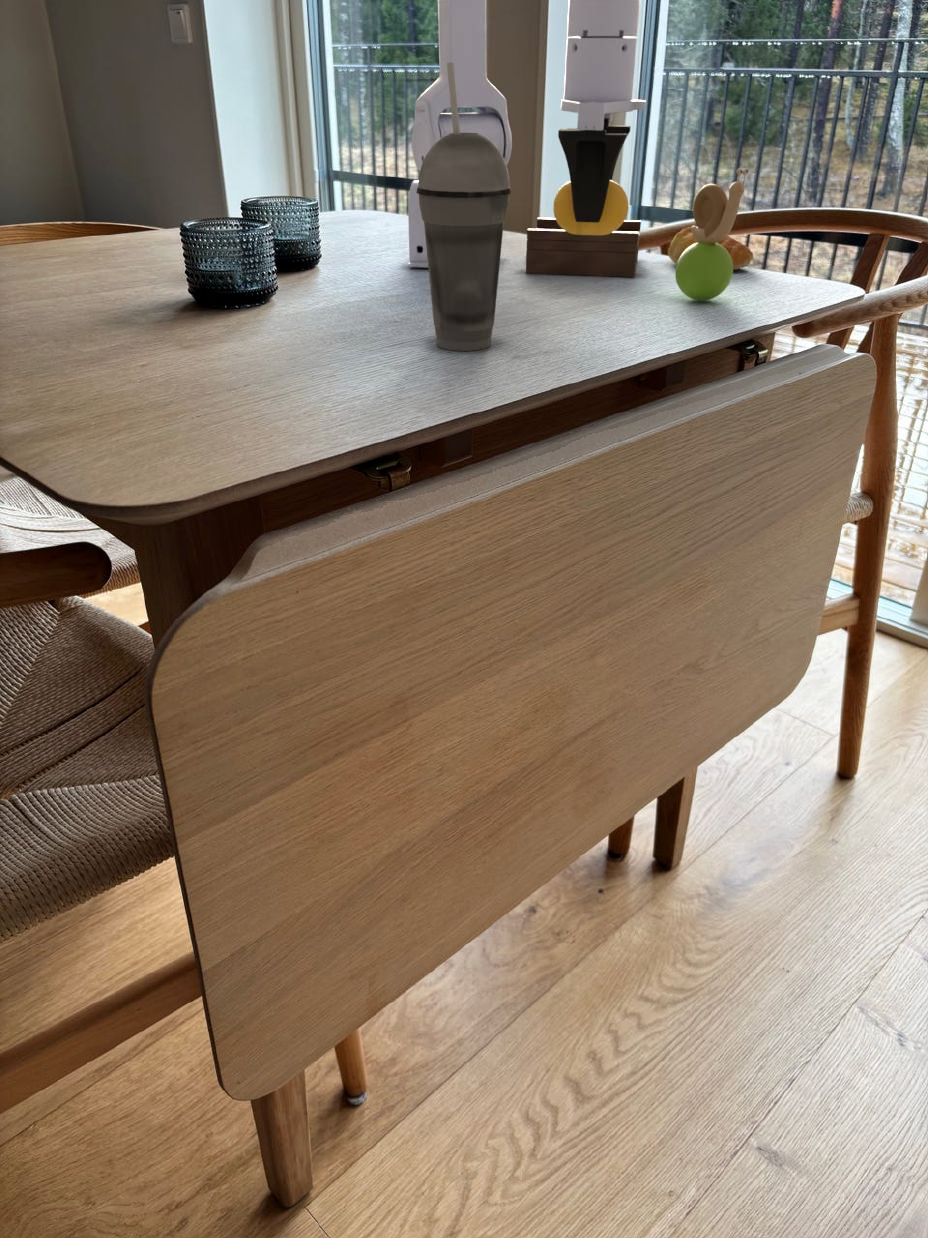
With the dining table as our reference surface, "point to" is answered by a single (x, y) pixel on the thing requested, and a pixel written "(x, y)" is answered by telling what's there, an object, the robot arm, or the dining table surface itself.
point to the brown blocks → (582, 250)
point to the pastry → (736, 249)
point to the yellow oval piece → (608, 223)
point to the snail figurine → (710, 242)
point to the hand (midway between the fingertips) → (589, 217)
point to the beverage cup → (463, 231)
